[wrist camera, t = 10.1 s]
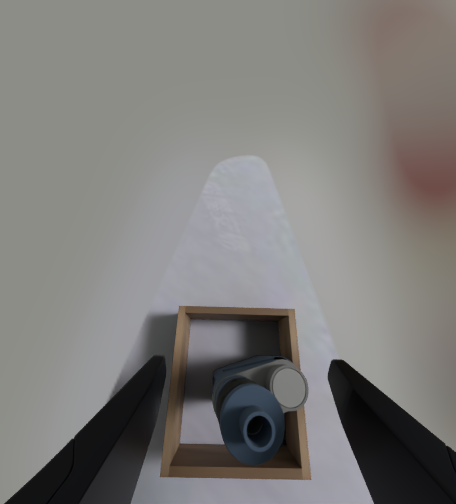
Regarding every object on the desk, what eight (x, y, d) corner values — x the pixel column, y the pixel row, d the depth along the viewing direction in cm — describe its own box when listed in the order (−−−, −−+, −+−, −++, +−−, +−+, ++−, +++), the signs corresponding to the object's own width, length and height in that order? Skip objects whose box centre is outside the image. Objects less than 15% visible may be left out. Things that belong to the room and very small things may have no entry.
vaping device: (206, 370, 18) (211, 398, 7) (265, 352, 19) (347, 351, 8) (213, 406, 17) (232, 500, 6) (275, 385, 18) (383, 433, 7)
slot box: (293, 454, 16) (311, 479, 13) (171, 452, 16) (159, 477, 13) (283, 315, 20) (294, 309, 17) (185, 312, 20) (179, 305, 17)
